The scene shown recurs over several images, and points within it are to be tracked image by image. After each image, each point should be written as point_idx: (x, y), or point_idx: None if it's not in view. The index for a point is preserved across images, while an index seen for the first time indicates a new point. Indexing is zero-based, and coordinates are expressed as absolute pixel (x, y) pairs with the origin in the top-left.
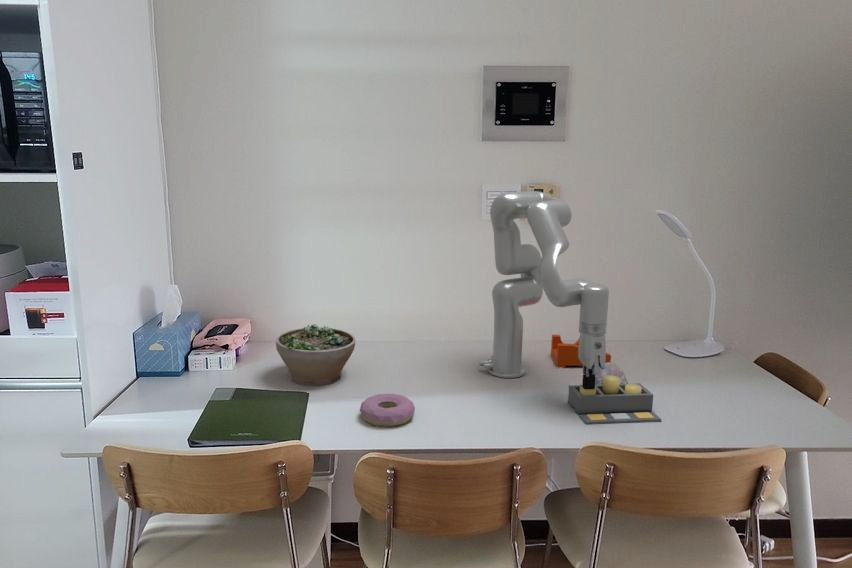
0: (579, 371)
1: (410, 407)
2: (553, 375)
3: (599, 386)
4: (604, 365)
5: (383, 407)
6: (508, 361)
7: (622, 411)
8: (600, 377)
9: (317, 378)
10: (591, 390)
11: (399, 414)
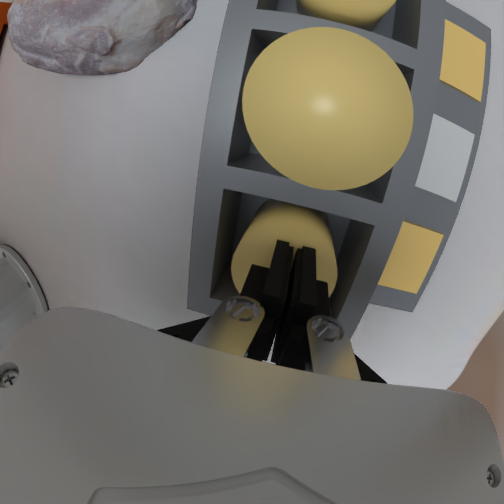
0: (5, 92)
1: None
2: (16, 182)
3: (230, 143)
4: (495, 443)
5: None
6: (15, 325)
7: None
8: (71, 52)
9: None
10: (326, 276)
11: None
